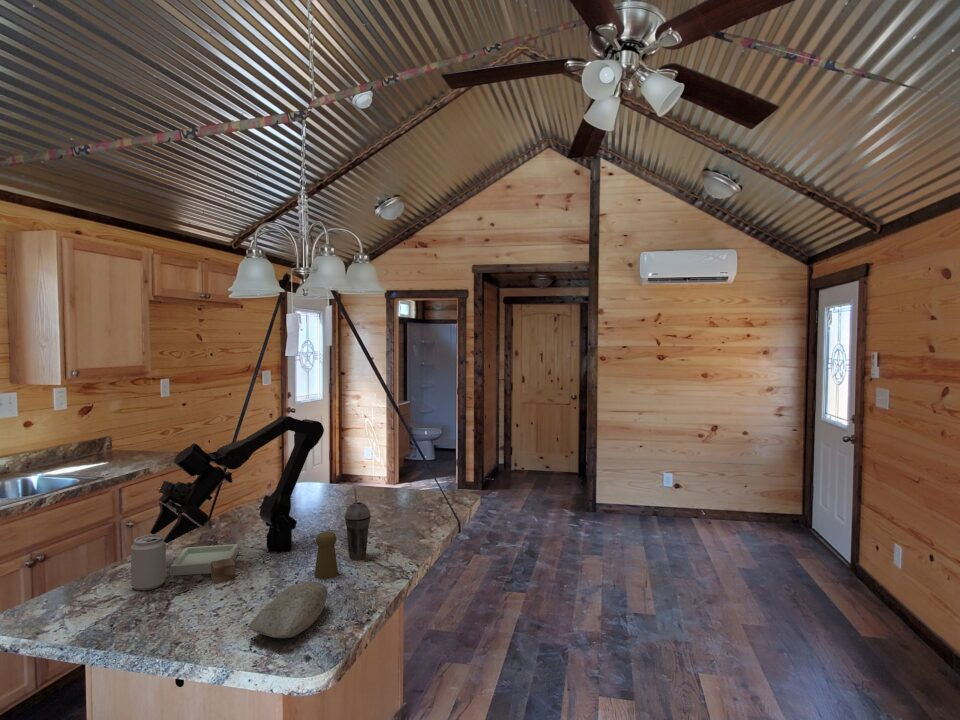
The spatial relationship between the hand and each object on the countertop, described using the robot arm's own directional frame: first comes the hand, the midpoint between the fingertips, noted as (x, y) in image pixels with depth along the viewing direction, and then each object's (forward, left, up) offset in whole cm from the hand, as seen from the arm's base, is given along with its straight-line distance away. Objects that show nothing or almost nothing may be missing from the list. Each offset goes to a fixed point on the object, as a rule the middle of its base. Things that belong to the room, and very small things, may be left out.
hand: (158, 537), depth 142 cm
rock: (-35, +30, -12) cm, 48 cm away
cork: (-41, +4, -12) cm, 43 cm away
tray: (-9, -11, -11) cm, 18 cm away
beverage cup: (-49, -7, -12) cm, 51 cm away
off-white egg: (+2, -12, -11) cm, 17 cm away
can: (+2, +1, -12) cm, 12 cm away
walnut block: (-15, 0, -11) cm, 19 cm away
